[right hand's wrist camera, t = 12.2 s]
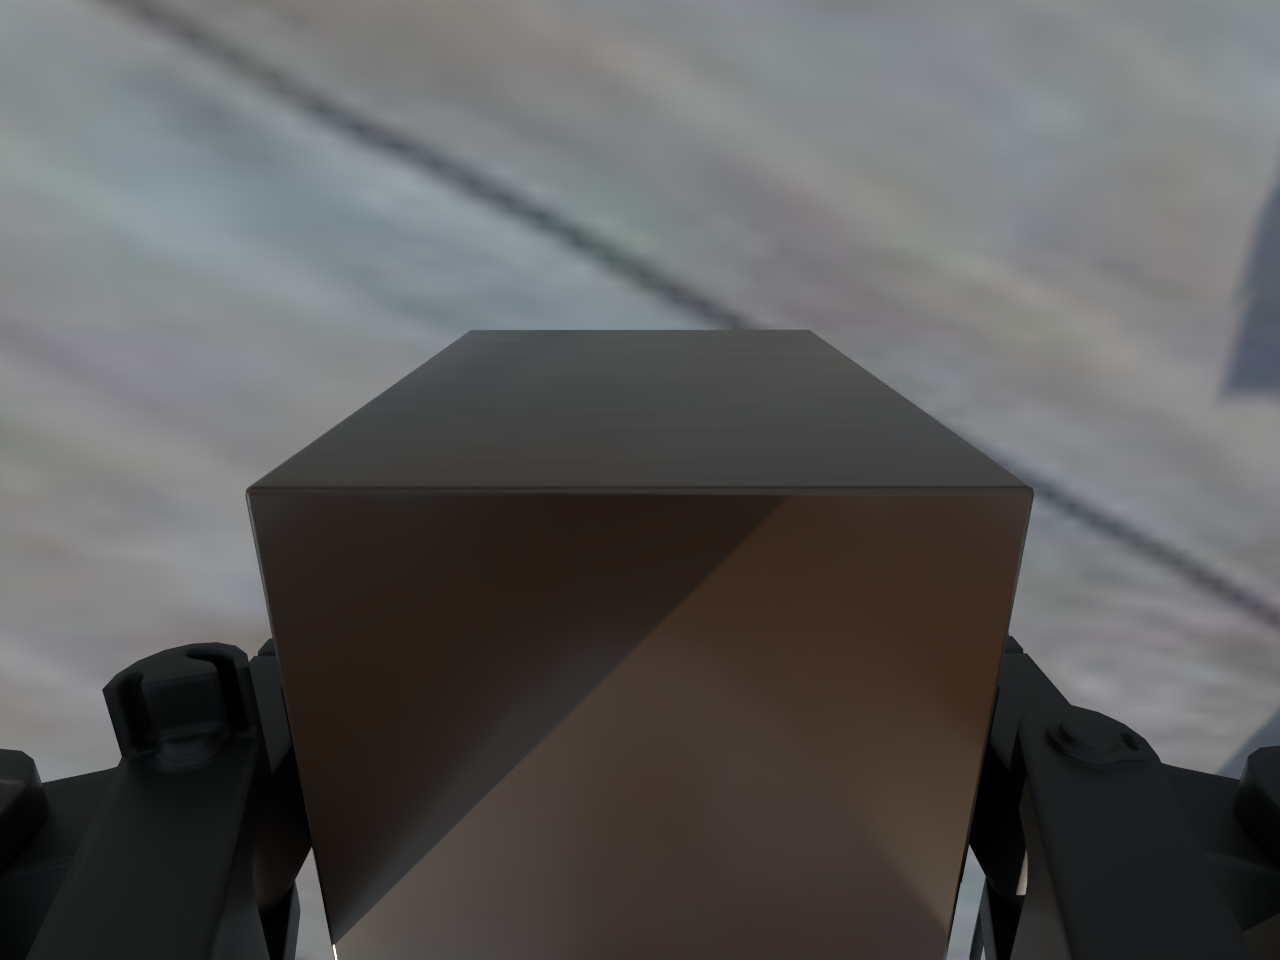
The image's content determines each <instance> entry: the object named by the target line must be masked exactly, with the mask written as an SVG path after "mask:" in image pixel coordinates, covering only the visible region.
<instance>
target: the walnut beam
mask: <svg viewBox="0 0 1280 960" xmlns="http://www.w3.org/2000/svg"><path fill="white" fill-rule="evenodd" d="M1033 497H1034V492H1033V489H1032V487H1030V486H1029V485H1028V484H1026V483H1025V482H1023V481H1022V480H1021V479H1019V478H1018V477H1016V476H1015V475H1014V474H1012V473H1011V472H1009V471H1008V470H1006V469H1005V468H1004V467H1002V466H1001V465H999V464H998V463H997V462H995V461H994V460H992V459H991V458H990V457H988V456H987V455H985V454H984V453H982V452H981V451H980V450H978V449H977V448H975V447H974V446H973V445H971V444H970V443H968V442H967V441H965V440H964V439H963V438H961V437H960V436H958V435H957V434H956V433H954V432H953V431H951V430H950V429H949V428H947V427H946V426H944V425H943V424H941V423H940V422H939V421H937V420H936V419H934V418H933V417H932V416H930V415H929V414H927V413H926V412H924V411H923V410H922V409H920V408H919V407H917V406H916V405H915V404H913V403H912V402H910V401H909V400H908V399H906V398H905V397H903V396H902V395H900V394H899V393H898V392H896V391H895V390H893V389H892V388H891V387H889V386H888V385H886V384H885V383H884V382H882V381H881V380H879V379H878V378H876V377H875V376H874V375H872V374H871V373H869V372H868V371H867V370H865V369H864V368H862V367H861V366H859V365H858V364H857V363H855V362H854V361H852V360H851V359H850V358H848V357H847V356H845V355H844V354H843V353H841V352H840V351H838V350H837V349H835V348H834V347H833V346H831V345H830V344H828V343H827V342H826V341H824V340H823V339H821V338H820V337H818V336H817V335H816V334H814V333H813V332H811V331H810V330H471V331H469V332H468V333H466V334H465V335H464V336H462V337H461V338H459V339H458V340H457V341H455V342H454V343H452V344H451V345H449V346H448V347H447V348H445V349H444V350H442V351H441V352H440V353H438V354H437V355H435V356H434V357H432V358H431V359H430V360H428V361H427V362H425V363H424V364H423V365H421V366H420V367H418V368H417V369H415V370H414V371H413V372H411V373H410V374H408V375H407V376H405V377H404V378H403V379H401V380H400V381H398V382H397V383H396V384H394V385H393V386H391V387H390V388H388V389H387V390H386V391H384V392H383V393H381V394H380V395H379V396H377V397H376V398H374V399H373V400H371V401H370V402H369V403H367V404H366V405H364V406H363V407H362V408H360V409H359V410H357V411H356V412H354V413H353V414H352V415H350V416H349V417H347V418H346V419H345V420H343V421H342V422H340V423H339V424H337V425H336V426H335V427H333V428H332V429H330V430H329V431H328V432H326V433H325V434H323V435H322V436H320V437H319V438H318V439H316V440H315V441H313V442H312V443H311V444H309V445H308V446H306V447H305V448H303V449H302V450H301V451H299V452H298V453H296V454H295V455H294V456H292V457H291V458H289V459H288V460H286V461H285V462H284V463H282V464H281V465H279V466H278V467H276V468H275V469H274V470H272V471H271V472H269V473H268V474H267V475H265V476H264V477H262V478H261V479H259V480H258V481H257V482H255V483H254V484H252V485H251V486H250V487H248V488H247V490H246V501H247V506H248V511H249V516H250V522H251V527H252V532H253V537H254V543H255V548H256V553H257V558H258V563H259V569H260V574H261V579H262V584H263V590H264V595H265V600H266V605H267V610H268V616H269V621H270V626H271V631H272V637H273V642H274V647H275V652H276V657H277V663H278V668H279V673H280V678H281V684H282V689H283V694H284V699H285V705H286V710H287V715H288V720H289V725H290V731H291V736H292V741H293V746H294V752H295V757H296V762H297V767H298V772H299V778H300V783H301V788H302V793H303V799H304V804H305V809H306V814H307V819H308V825H309V830H310V835H311V840H312V846H313V851H314V856H315V861H316V866H317V872H318V877H319V882H320V887H321V893H322V898H323V903H324V908H325V914H326V919H327V924H328V929H329V934H330V940H331V945H332V950H333V955H334V960H946V957H947V952H948V947H949V941H950V936H951V931H952V926H953V920H954V915H955V910H956V904H957V899H958V894H959V889H960V883H961V878H962V873H963V867H964V862H965V857H966V852H967V846H968V841H969V836H970V830H971V825H972V820H973V815H974V809H975V804H976V799H977V793H978V788H979V783H980V778H981V772H982V767H983V762H984V756H985V751H986V746H987V741H988V735H989V730H990V725H991V719H992V714H993V709H994V704H995V698H996V693H997V688H998V682H999V677H1000V672H1001V667H1002V661H1003V656H1004V651H1005V645H1006V640H1007V635H1008V630H1009V624H1010V619H1011V614H1012V608H1013V603H1014V598H1015V593H1016V587H1017V582H1018V577H1019V571H1020V566H1021V561H1022V556H1023V550H1024V545H1025V540H1026V534H1027V529H1028V524H1029V519H1030V513H1031V508H1032V503H1033Z"/></svg>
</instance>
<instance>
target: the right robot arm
mask: <svg viewBox="0 0 1280 960" xmlns="http://www.w3.org/2000/svg"><path fill="white" fill-rule="evenodd" d="M102 691H103V694H104V697H105V701H106V704H107V707H108V711H109V714H110V718H111V721H112V724H113V728H114V731H115V734H116V738H117V741H118V745H119V748H120V751H121V755H122V758H121V760H120V762H119V764H118V767H115V768H111V769H107V770H103V771H98V772H93V773H88V774H84V775H79V776H74V777H69V778H64V779H60V780H55V781H50V782H45V783H41V780H40V777H39V774H38V771H37V768H36V765H35V762H34V760H33V759H32V758H31V757H29V756H28V755H26V754H25V753H24V752H22V751H17V750H7V749H0V960H295V952H296V944H297V936H298V927H299V919H300V904H299V897H298V892H297V887H296V882H295V879H296V877H297V875H298V873H299V871H300V869H301V867H302V865H303V863H304V861H305V859H306V857H307V855H308V853H309V851H310V849H311V847H312V849H313V846H312V840H311V835H310V830H309V825H308V819H307V814H306V809H305V804H304V799H303V793H302V788H301V783H300V778H299V772H298V767H297V762H296V757H295V752H294V746H293V741H292V736H291V731H290V725H289V720H288V715H287V710H286V705H285V699H284V694H283V689H282V684H281V678H280V673H279V668H278V663H277V657H276V652H275V647H274V642H273V638H272V639H268V641H267V642H266V643H265V644H264V645H263V647H262V648H261V649H260V650H259V651H258V656H254V657H253V658H252V659H251V661H250V662H249V661H248V656H247V654H246V653H245V652H243V651H242V650H241V649H239V648H238V647H237V646H234V645H228V644H223V643H218V642H214V643H197V644H189V645H185V646H180V647H176V648H172V649H167V650H164V651H161V652H159V653H156V654H154V655H151V656H149V657H146V658H144V659H141V660H139V661H137V662H136V663H134V664H132V665H131V666H129V667H128V668H126V669H124V670H123V671H121V672H120V673H118V674H116V675H115V676H114V678H113V679H112V680H111V681H110V682H109V683H108V684H107V685H106V686H105V687H104V688H103V689H102ZM969 844H970V846H971V848H972V850H973V852H974V854H975V856H976V858H977V860H978V862H979V864H980V866H981V868H982V870H983V872H984V874H985V876H986V878H985V882H984V887H983V892H982V897H981V901H980V906H979V911H978V915H977V920H976V925H975V930H974V934H973V939H972V944H971V951H970V958H969V960H980V959H981V954H982V950H983V946H984V950H985V958H986V960H1280V746H1272V747H1262V748H1259V749H1258V750H1256V751H1255V752H1254V753H1252V754H1251V755H1249V756H1248V759H1247V762H1246V765H1245V768H1244V770H1243V773H1242V776H1241V779H1240V780H1237V779H1232V778H1227V777H1223V776H1218V775H1213V774H1208V773H1203V772H1199V771H1194V770H1189V769H1184V768H1179V767H1175V766H1171V765H1167V764H1164V763H1161V761H1160V759H1159V757H1158V755H1157V754H1156V753H1155V751H1154V750H1153V749H1152V747H1151V746H1150V745H1149V744H1148V742H1147V741H1146V740H1145V739H1144V738H1143V737H1141V736H1140V735H1139V734H1137V733H1136V732H1134V731H1133V730H1132V729H1130V728H1129V727H1128V726H1126V725H1125V724H1123V723H1121V722H1119V721H1117V720H1114V719H1112V718H1110V717H1108V716H1106V715H1104V714H1101V713H1099V712H1096V711H1092V710H1088V709H1084V708H1081V707H1077V706H1073V705H1071V704H1070V703H1069V702H1068V701H1067V700H1066V699H1065V697H1064V696H1063V695H1062V694H1061V693H1060V692H1059V690H1058V689H1057V688H1056V687H1055V686H1054V685H1053V683H1052V682H1051V681H1050V680H1049V679H1048V678H1047V676H1046V675H1045V674H1044V673H1043V672H1042V671H1041V669H1040V668H1039V667H1038V666H1037V665H1036V664H1035V662H1034V661H1033V660H1032V659H1031V658H1030V657H1029V655H1028V654H1024V653H1023V648H1022V647H1021V646H1020V645H1019V644H1018V643H1017V641H1016V640H1015V639H1014V638H1013V637H1012V636H1009V634H1008V635H1007V640H1006V645H1005V651H1004V656H1003V661H1002V667H1001V672H1000V677H999V682H998V688H997V693H996V698H995V704H994V709H993V714H992V719H991V725H990V730H989V735H988V741H987V746H986V751H985V756H984V762H983V767H982V772H981V778H980V783H979V788H978V793H977V799H976V804H975V809H974V815H973V820H972V825H971V830H970V836H969V841H968V846H967V852H968V847H969ZM967 852H966V857H967ZM313 855H314V851H313ZM966 857H965V862H966ZM314 860H315V856H314ZM965 862H964V867H963V873H964V868H965ZM315 865H316V861H315ZM316 870H317V866H316ZM963 873H962V878H963ZM317 875H318V872H317ZM962 878H961V883H962ZM318 880H319V877H318ZM319 883H320V882H319Z"/></svg>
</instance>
